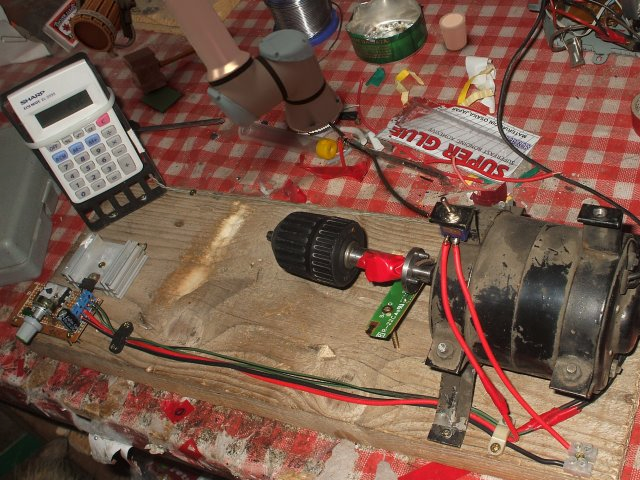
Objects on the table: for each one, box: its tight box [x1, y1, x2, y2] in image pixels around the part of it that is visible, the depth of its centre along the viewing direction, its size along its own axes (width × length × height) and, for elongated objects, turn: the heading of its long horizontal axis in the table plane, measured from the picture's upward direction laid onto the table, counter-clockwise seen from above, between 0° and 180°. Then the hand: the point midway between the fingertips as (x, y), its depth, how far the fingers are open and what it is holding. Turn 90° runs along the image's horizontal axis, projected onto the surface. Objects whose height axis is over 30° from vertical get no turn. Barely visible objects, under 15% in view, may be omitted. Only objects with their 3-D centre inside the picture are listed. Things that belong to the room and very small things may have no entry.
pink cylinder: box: [438, 11, 468, 51], centre depth 163 cm, size 7×7×7 cm
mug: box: [69, 0, 137, 59], centre depth 163 cm, size 16×11×15 cm
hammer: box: [122, 28, 231, 95], centre depth 188 cm, size 7×33×10 cm, turn 130°
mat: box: [139, 85, 184, 114], centre depth 184 cm, size 12×8×1 cm, turn 50°
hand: (112, 40), depth 165 cm, fingers closed on mug, 9 cm apart
